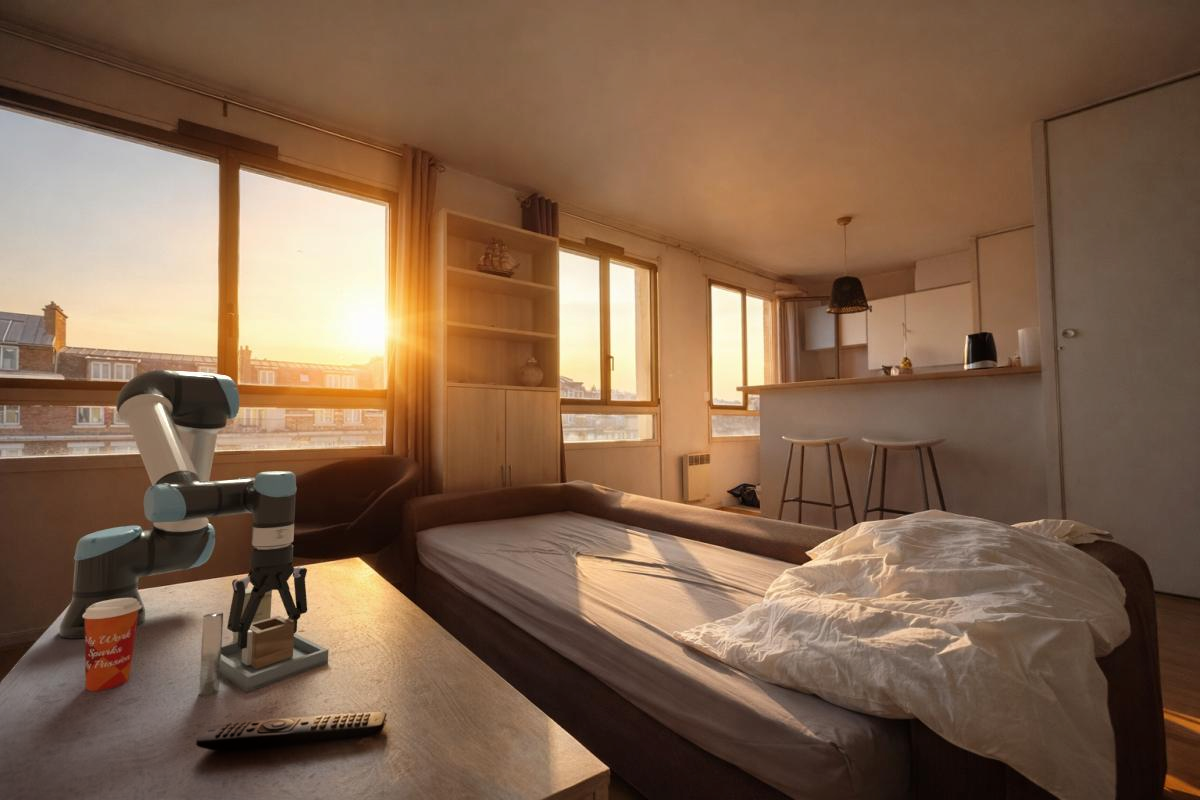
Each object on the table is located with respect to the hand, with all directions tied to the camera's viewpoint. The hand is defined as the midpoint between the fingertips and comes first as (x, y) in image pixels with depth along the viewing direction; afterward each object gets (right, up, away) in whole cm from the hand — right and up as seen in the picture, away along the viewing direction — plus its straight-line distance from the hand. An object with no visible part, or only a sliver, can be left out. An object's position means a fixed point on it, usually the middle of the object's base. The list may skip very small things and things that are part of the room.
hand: (267, 656), depth 108 cm
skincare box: (-10, -2, +10) cm, 14 cm away
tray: (0, -1, 0) cm, 1 cm away
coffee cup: (-25, -1, -9) cm, 26 cm away
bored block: (0, 0, 0) cm, 0 cm away
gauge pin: (-3, -1, -12) cm, 12 cm away
